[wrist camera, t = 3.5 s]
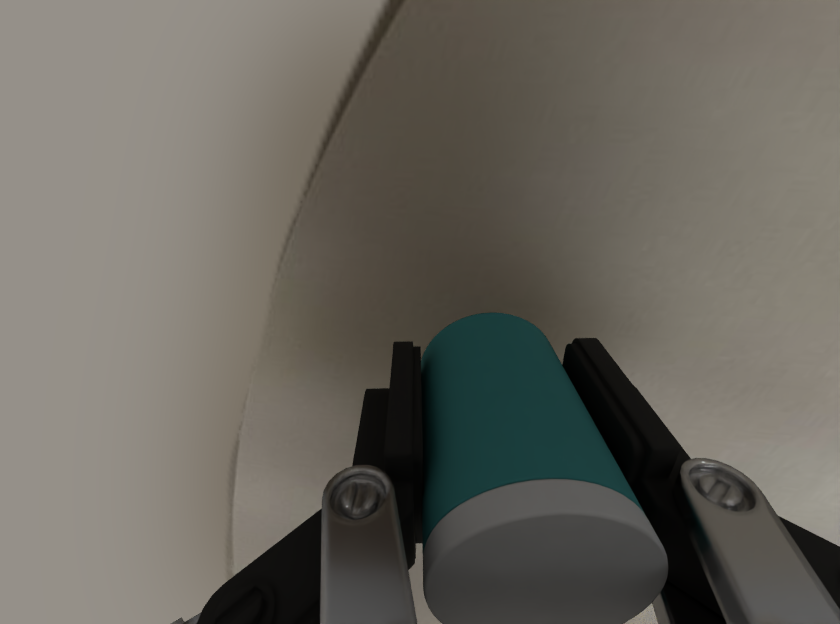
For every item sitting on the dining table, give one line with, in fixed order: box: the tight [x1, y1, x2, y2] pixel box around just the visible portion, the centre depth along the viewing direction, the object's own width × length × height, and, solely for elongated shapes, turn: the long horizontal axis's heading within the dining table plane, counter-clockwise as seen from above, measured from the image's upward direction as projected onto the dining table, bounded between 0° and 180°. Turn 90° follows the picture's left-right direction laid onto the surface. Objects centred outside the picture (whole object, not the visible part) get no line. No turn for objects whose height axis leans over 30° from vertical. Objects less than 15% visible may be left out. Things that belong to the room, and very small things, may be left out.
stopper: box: [421, 313, 668, 624], centre depth 9 cm, size 4×4×6 cm
